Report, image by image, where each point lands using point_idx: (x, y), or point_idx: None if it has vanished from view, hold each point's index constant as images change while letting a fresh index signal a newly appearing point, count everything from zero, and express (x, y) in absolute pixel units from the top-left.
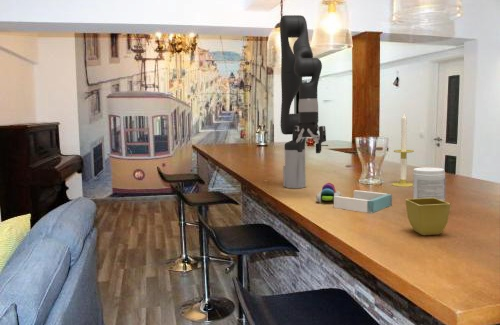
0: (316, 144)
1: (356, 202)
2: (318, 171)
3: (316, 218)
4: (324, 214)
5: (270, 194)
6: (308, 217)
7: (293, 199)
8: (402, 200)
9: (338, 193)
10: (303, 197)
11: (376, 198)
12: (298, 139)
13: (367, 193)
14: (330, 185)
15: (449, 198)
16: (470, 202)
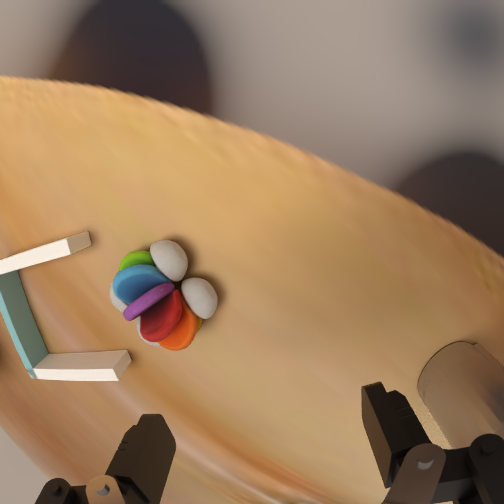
0: (121, 469)
1: (16, 254)
2: None
3: (40, 100)
4: (50, 145)
5: (438, 218)
6: (58, 87)
7: (299, 216)
8: (80, 419)
9: (137, 327)
10: (299, 275)
11: (3, 308)
12: (411, 486)
13: (73, 367)
14: (125, 309)
15: (66, 462)
16: (32, 445)
